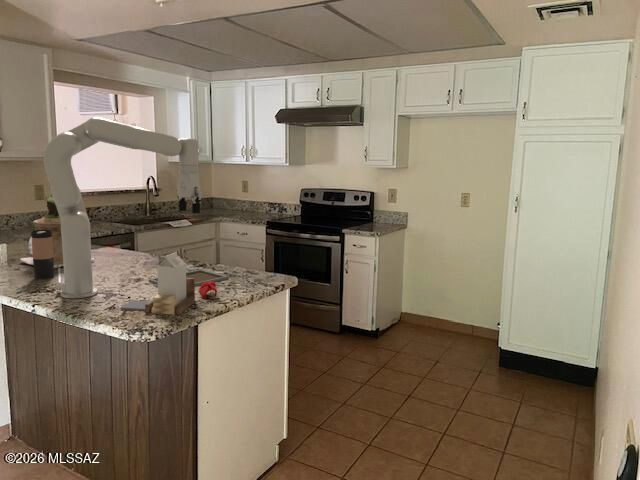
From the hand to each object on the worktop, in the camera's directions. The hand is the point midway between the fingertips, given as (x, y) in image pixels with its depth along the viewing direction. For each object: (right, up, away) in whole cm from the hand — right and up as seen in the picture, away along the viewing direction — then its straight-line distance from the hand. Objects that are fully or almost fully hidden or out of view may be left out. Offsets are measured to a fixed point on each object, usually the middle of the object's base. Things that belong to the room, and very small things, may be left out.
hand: (189, 211), depth 198 cm
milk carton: (+1, -35, -25) cm, 43 cm away
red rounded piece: (+10, -33, -12) cm, 37 cm away
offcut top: (0, -33, -32) cm, 46 cm away
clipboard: (-4, -30, +10) cm, 32 cm away
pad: (-11, -35, -26) cm, 45 cm away
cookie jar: (-74, -23, +37) cm, 86 cm away
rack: (+1, -35, -27) cm, 44 cm away
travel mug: (-64, -28, +9) cm, 70 cm away
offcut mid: (+1, -35, -32) cm, 47 cm away
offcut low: (0, -37, -31) cm, 48 cm away
